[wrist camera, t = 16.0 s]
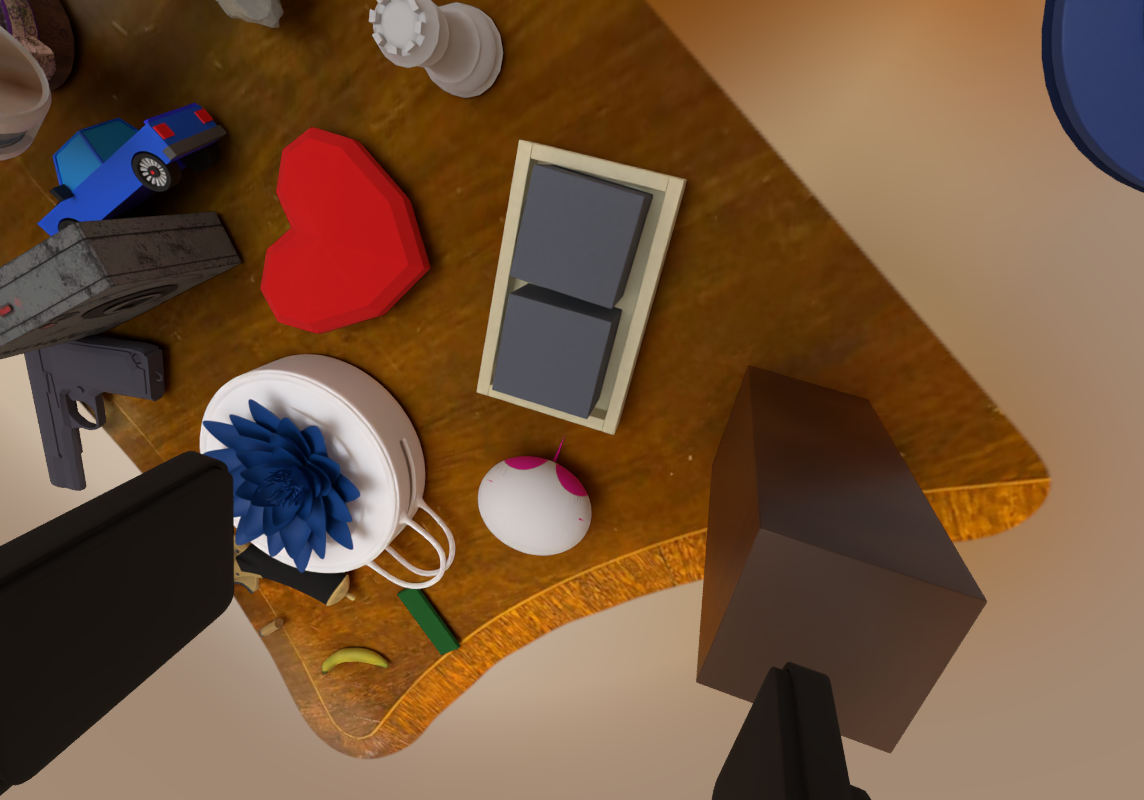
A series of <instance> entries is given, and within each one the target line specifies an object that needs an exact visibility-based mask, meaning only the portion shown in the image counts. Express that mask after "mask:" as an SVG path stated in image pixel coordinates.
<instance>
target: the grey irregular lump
mask: <svg viewBox="0 0 1144 800" xmlns="http://www.w3.org/2000/svg"><path fill="white" fill-rule="evenodd" d="M217 2H218V3H219V5H220V6H221V7H222V9H223V10H224V11H225V13H226V14H227V15H228V16H229V17H230V18H234V19H242V20H244V21H246V22H254V23H257V24H261V25H264V26H268V27H271V28H276V27H279V18H280V17H281V16H282V15H283V14H284V12H283V9H282V6H281V2H280V0H217Z"/></svg>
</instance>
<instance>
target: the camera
mask: <svg viewBox="0 0 1144 800" xmlns="http://www.w3.org/2000/svg"><path fill="white" fill-rule="evenodd" d="M236 255H237V256H236ZM241 263H242V262H241V260H240V258H239V256H238V254H237V252H236V250H235V249H234V247H233V245H232V243H231V241H230V239H229V237H228V235H227V233H226V231H225V230H224V228H223V226H222V224H221V222H220V220H219V218H218V216H217V214H216V212H202V213H189V214H176V215H163V216H150V217H136V218H123V219H110V220H97V221H84V222H75V223H72V224H71V225H69V226H67V227H66V228H64V229H62V230H61V231H59V232H58V233H56V234H54V235H53V236H51V237H49V238H48V239H46V240H44V241H43V242H41V243H40V244H38V245H36V246H35V247H33V248H31V249H30V250H28V251H26V252H25V253H23V254H22V255H20V256H18V257H17V258H15V259H13V260H12V261H10V262H8V263H7V264H5V265H4V266H2V267H0V359H3V358H7V357H11V356H15V355H19V354H23V353H27V352H31V351H35V350H39V349H43V348H47V347H51V346H54V345H58V344H62V343H66V342H70V341H74V340H78V339H81V338H85V337H88V336H92V335H98V334H101V333H104V332H106V331H108V330H110V329H112V328H114V327H116V326H118V325H120V324H122V323H124V322H126V321H128V320H130V319H132V318H134V317H136V316H138V315H140V314H142V313H144V312H146V311H148V310H150V309H152V308H154V307H156V306H157V305H159V304H161V303H163V302H165V301H167V300H169V299H171V298H173V297H175V296H177V295H178V294H180V293H182V292H184V291H186V290H188V289H190V288H192V287H194V286H196V285H198V284H200V283H202V282H204V281H206V280H208V279H210V278H212V277H214V276H216V275H218V274H220V273H223V272H225V271H227V270H229V269H231V268H233V267H235V266H237V265H239V264H241Z"/></svg>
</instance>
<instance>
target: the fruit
mask: <svg viewBox="0 0 1144 800" xmlns="http://www.w3.org/2000/svg"><path fill="white" fill-rule="evenodd" d="M342 662H364V663H370V664H374V665H378V666H382V667H388V666H389V664H388V662H387V661H386V660H385V659H384V658H383V657H382V656H380V655H379V654H377V653H376V652H374V651H371V650H368V649H364V648H345V649H341V650H339V651H337V652H335V653H334V654H332V655H331V656H330V657H329V658H328V659H327V660H326V661H325V662H324V663H323V665H322V669H323V673H322V675H325V674H327V673H328V671H329V670H331V669H333V668H334V667H335V666H336V665H337V664H339V663H342Z"/></svg>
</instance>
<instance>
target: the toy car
mask: <svg viewBox="0 0 1144 800" xmlns="http://www.w3.org/2000/svg"><path fill="white" fill-rule="evenodd" d="M144 123H145V124H146V125H145V126H144V127H143V128H141V129H140V130H138V129H136V128H135V127H133V126H132V125H130V124H128V123H127V122H125V121H124V120H122V119H121V118H116V119H112V120H109V121H106V122H103V123H100V124H97V125H94V126H90V127H87V128H84V129H81V130H79V131H78V132H77V133H75V134H74V135H73V136H72V137H71V138H70V139H69V140H68V141H67V142H66V143H65V144H64V145H63V146H62V147H61V148H60V149H59V150H58V151H57V152H56V153H55V154H54V155H53V160H54V164H55V168H56V172H57V176H58V180H59V184H60V186H58V187H55V188H53V189H51V190H50V191H49V192H50V193H51V194H52V195H53V196H55V197H56V198H57V199H58V200H59V202H58V204H57V205H56V206H55V208H54V209H53V210H52V211H51V212H50V213H48V214H47V215H46V216H45V217H44V218H43V219H42V220H41V221H40V222H39V223H37V224H38V225H39V226H40V227H41V228H43V229H44V230H45V231H46V232H47V233H48V234H49V235H50V236H53V235H54V234H56V233H58V232H59V231H61V230H62V229H64V228H66V227H67V226H69V225H71V224H72V223H75V222H84V221H97V220H110V219H123V218H136V217H147V214H146V211H145V209H144V207H143V205H142V203H143V202H144V201H146V200H147V199H148V198H149V197H150V196H152V195H153V194H154V193H155V192H156V191H157V192H162V191H165V190H167V189H169V188H171V187H173V186H175V185H177V184H178V183H179V182H180V180H181V171H182V170H183V169H184V168H185V167H186V166H187V167H188V168H190V169H192V170H194V171H199V172H200V171H205V170H207V169H209V168H211V167H213V166H215V165H216V164H217V163H218V162H219V159H220V153H219V150H218V147H217V145H216V144H215V142H216V141H218V140H219V139H220V138H222V137H223V136H224V135H225V134H226V133H227V132H226V131H225V130H224V129H223V128H222V126H221V125H218V126H217V125H216V124H215V122H214V121H213V118H212V117H211V116H210V115H209V114H208V112H207V111H206V110H205V109H203V108H202V107H201V106H200V105H197V104H196V103H193V104H190V105H187V106H184V107H181V108H178V109H175V110H172V111H169V112H166V113H163V114H160V115H157V116H154V117H152V118H149V119H146V120H145V121H144Z"/></svg>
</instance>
